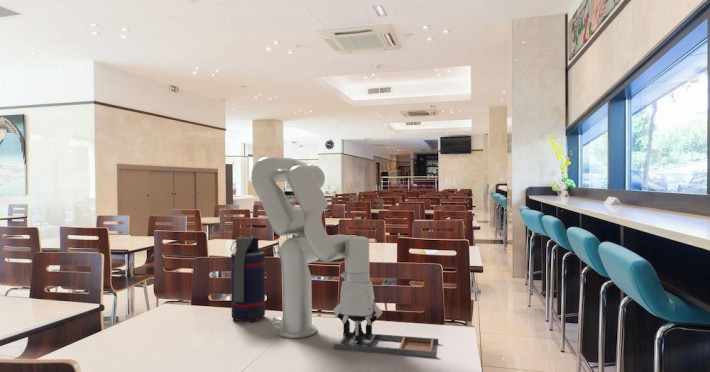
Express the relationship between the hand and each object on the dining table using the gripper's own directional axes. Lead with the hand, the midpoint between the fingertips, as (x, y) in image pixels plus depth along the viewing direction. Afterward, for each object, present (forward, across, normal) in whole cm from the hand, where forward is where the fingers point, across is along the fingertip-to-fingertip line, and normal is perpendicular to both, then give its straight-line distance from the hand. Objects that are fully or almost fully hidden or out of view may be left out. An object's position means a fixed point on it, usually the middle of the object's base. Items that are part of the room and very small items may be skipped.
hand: (357, 335), depth 133 cm
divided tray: (+3, +9, 0) cm, 9 cm away
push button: (+3, 0, 0) cm, 3 cm away
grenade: (+3, -45, +15) cm, 48 cm away
